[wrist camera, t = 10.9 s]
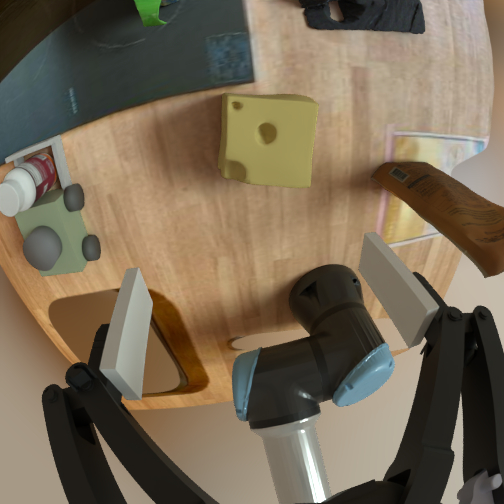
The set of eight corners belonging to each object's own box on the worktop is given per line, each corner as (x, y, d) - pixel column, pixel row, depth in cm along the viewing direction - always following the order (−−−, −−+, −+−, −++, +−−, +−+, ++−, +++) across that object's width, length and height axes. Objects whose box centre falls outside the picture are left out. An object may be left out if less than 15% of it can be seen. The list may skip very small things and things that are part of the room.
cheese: (217, 163, 37) (220, 189, 29) (220, 88, 31) (224, 89, 23) (288, 165, 39) (311, 191, 31) (296, 94, 33) (325, 99, 25)
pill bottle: (41, 195, 34) (7, 230, 25) (24, 165, 31) (-15, 194, 22) (65, 176, 34) (30, 208, 25) (47, 144, 30) (6, 168, 21)
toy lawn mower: (102, 250, 42) (87, 285, 35) (48, 259, 41) (29, 291, 33) (69, 131, 30) (37, 147, 23) (12, 153, 29) (-21, 173, 21)
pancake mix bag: (365, 153, 39) (502, 254, 17) (444, 154, 41) (557, 230, 18) (362, 191, 43) (476, 307, 20) (438, 185, 45) (540, 270, 22)
